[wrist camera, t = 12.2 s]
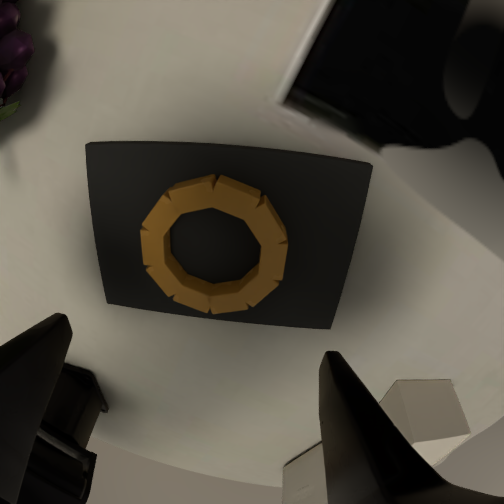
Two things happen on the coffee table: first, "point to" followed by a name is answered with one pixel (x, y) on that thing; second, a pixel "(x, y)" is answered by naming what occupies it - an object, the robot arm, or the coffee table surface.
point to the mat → (228, 224)
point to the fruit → (12, 55)
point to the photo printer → (305, 479)
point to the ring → (234, 203)
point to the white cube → (427, 416)
